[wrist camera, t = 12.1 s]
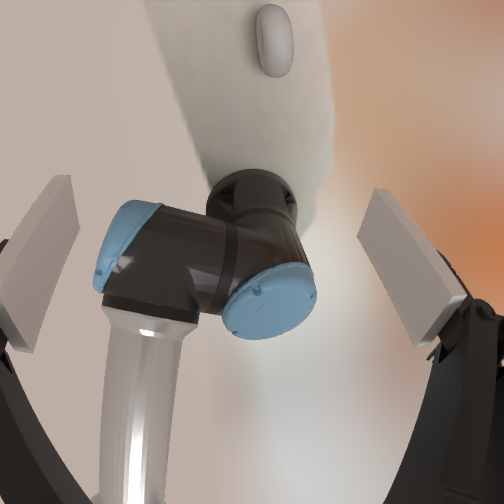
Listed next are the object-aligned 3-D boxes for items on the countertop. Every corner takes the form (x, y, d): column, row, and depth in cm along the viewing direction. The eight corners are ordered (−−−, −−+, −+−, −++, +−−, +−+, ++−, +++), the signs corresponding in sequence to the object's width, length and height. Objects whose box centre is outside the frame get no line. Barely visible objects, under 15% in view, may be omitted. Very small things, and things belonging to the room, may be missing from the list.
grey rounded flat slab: (251, 7, 33) (262, 1, 26) (276, 6, 34) (294, 1, 26) (257, 72, 40) (269, 85, 32) (281, 71, 40) (299, 83, 33)
